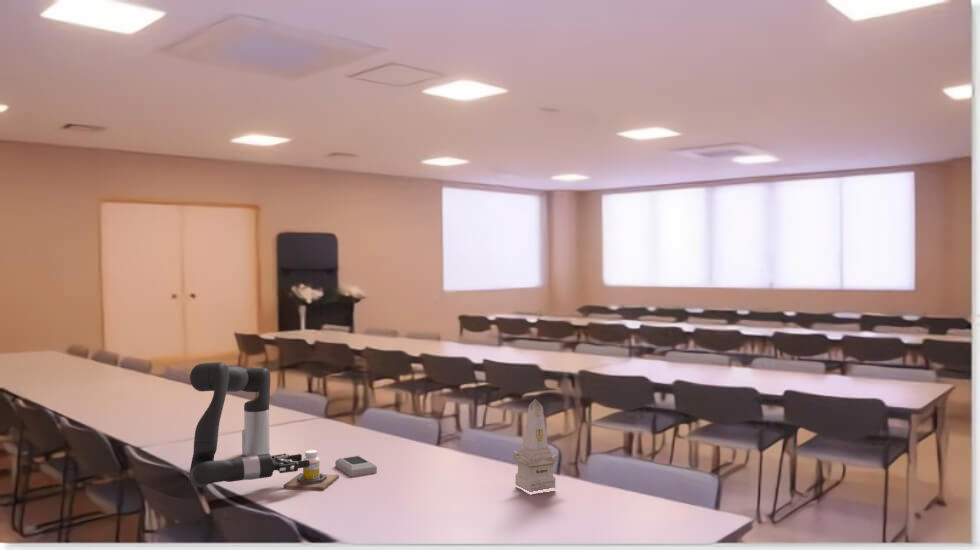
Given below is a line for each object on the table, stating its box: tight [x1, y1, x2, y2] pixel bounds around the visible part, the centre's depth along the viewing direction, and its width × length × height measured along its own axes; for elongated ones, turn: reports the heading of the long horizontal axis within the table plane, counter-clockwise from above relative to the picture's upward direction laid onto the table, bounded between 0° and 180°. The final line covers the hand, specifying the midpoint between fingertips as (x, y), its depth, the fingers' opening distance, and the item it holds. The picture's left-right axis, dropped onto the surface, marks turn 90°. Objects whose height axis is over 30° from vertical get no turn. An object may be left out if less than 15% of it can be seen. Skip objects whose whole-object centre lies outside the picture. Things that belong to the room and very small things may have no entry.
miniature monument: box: [513, 398, 558, 492], centre depth 249 cm, size 10×10×30 cm
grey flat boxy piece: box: [334, 455, 378, 478], centre depth 272 cm, size 10×4×15 cm
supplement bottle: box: [302, 449, 321, 480], centre depth 255 cm, size 5×5×10 cm
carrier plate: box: [282, 472, 340, 491], centre depth 256 cm, size 14×14×2 cm
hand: (305, 460), depth 254 cm, fingers open, 8 cm apart
